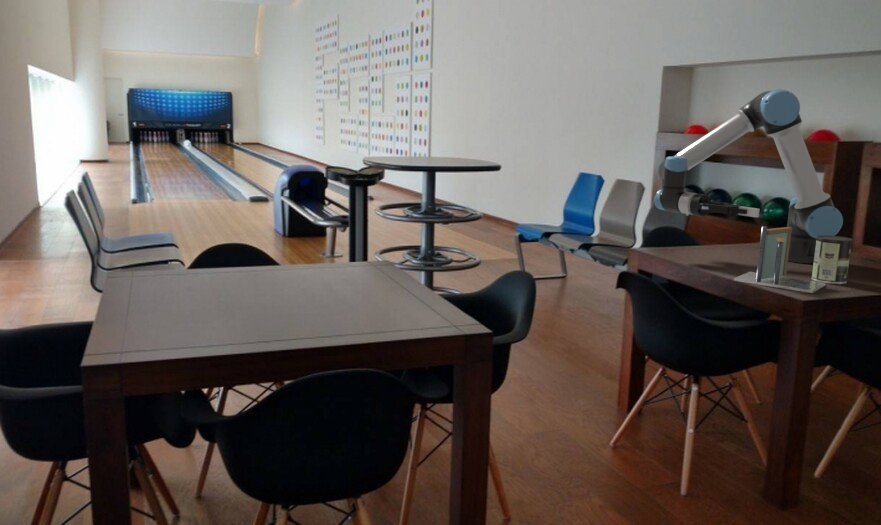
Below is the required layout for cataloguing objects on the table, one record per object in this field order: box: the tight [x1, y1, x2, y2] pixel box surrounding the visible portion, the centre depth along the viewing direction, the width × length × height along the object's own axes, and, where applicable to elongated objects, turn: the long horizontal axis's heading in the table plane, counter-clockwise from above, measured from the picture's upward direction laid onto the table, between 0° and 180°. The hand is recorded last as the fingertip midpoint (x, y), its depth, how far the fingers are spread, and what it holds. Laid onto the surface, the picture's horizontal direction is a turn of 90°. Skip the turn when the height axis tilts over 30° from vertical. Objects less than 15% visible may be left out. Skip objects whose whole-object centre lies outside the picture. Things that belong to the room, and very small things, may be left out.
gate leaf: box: [761, 226, 792, 279], centre depth 233 cm, size 13×2×15 cm, turn 125°
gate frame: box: [733, 226, 826, 294], centre depth 231 cm, size 15×23×18 cm, turn 50°
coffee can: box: [811, 235, 854, 285], centre depth 237 cm, size 10×10×14 cm
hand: (757, 213), depth 237 cm, fingers closed
